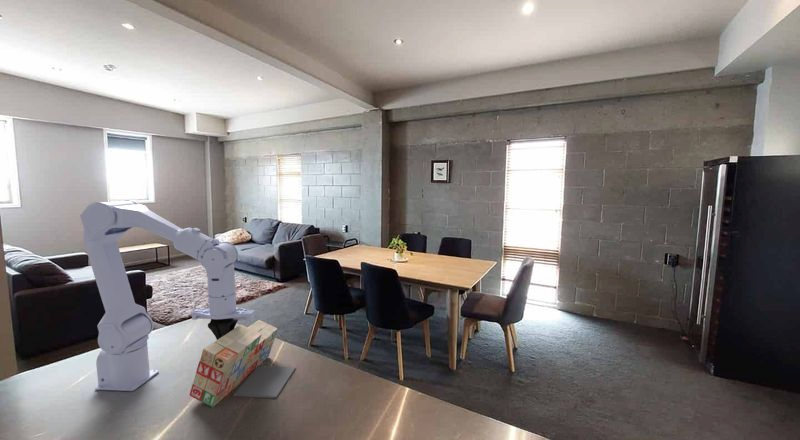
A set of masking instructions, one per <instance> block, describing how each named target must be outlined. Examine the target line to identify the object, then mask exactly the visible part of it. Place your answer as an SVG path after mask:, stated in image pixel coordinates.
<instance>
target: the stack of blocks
mask: <svg viewBox="0 0 800 440" xmlns="http://www.w3.org/2000/svg"><path fill="white" fill-rule="evenodd" d="M277 332H278V328H277V327H275V326H274V325H272V324H270V323H269V324H268V323H267V322H265V321H263V320H260V319H258V320H257V321H255V322H253V323H252V324H250V325H249V326H245V325H243V324H239V325H237V326H235V328H234V329H233V330H232V331H230V332H229V333H227V334H226V335H225V336H222V337H221V338H219V339H218V340H217V339H216V340H215V341H213V342H211V343H210V344H208V345H206V346H205V347H204V348H203V349H202V351H201V355H200V356H201V357H200V359H199V362H198V364H197V368H196V371H195V375H194V379H193V382H192V384H191V388H190V391H189V396H190V397H192V398H193V399H195V400H197V401H199V402H202V403H203V404H205V405H207V406H209V407H211V408H214V407H215V406H216V405H218V403H220V401H222V400H223V399H225V398H226V397H227V396H228V395H229V394H230V393H231V392H232V391H233V390H234V389H235V388H237V387H238V386H239V385H240V384H242V383H241V382H242V381H244V379H245V380H246V378H248V377H249V376H250V375H251V374H252V373H253V371H254V370H255V369H256V368H257V367H258V366H261V364H262V363H263V362H265V361H266V360H267V359H268V358H269V357H270V353H271V351H272V348H273V345H274V341H275V338H276V335H277Z"/></svg>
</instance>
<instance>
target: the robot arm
mask: <svg viewBox="0 0 800 440" xmlns="http://www.w3.org/2000/svg"><path fill="white" fill-rule="evenodd" d="M80 219H81V223H82V227H83V229H84V230H83V236H82V238H83V243H84V246H85V250H86V253H87V256H88V260H89V263H90V267H91V269H92V272H93V276H94V278H95V282H96V286H97V288H98V292H99V296H100V298H101V299H100V300H101V302H102V304H103V308H104V311H105V312H104V314H103V316H102V318H101V319H100V321H99V322H98V324H97V325H96V326H97V330H98V336H97V343H98V346H99V348H100V349H101V351H100V352H99V354H98V355H97V358H96V372H97V374H96V375H97V384H98V385H96V386H95V387H94V390H96V391H97V390H99V391H118V392H119V391H120V392H121V391H124V392H126V391H127V392H133V391H135V390H137V389H138V388H139V387H140V386H142V385H144V383H146V382H148V381H149V380H150V379H151V378H153V377H154V376H156V375H157V374H158V373H159V372H160V371H159V369H150V360H149V347H148V340H149V335H150V334H151V333H152V331H153V329H154V325H155V324H154V321H153V319H152V317H151V316H150V315H149V314H148V313H147V310H146V307H144V306H142V305H140V304H138V303H136V302H135V298H134V295H133V291H132V289H131V285H130V282H129V278H128V275H127V271H126V268H125V264H124V262H123V259H122V254H121V251H120V248H119V245H118V242H119V240H120V239H121V238H122V237H123V235H124V234H125V233H127V232H128V231H129V230H131V229H133V228H141V229H143V230H146V231H148V232H149V233H153V234H155V235H157V236H159V237H161V238H163V239H164V238H165V239H167V240H169V241H170V242H172V243H173V247H174V249H175V250H177V251H179V252H181V253H184V254H185V255H188V256H189V257H192V258H193V259H195V260H197V261H199V262H200V264H201V266H202V267H203V268H204V269H205V271H206V278H207V292H208V294H207V295H208V297H207V298H208V308H196V309H194V310H193V311H191V320H193V321H194V320H195V321H196V320H198V319H201V320H202V319H203V320H204V319H205V320H206V319H207V320H210V322H209V323H207V328H208V329H209V330H210V331H211V332H212V334H213V335H214V337H215V339H216V340H218V339H219V338H221V337H222V336H225V335H226V334H227V333H229V332H230V331H232V330H233V329H234V328H236V327H237V326H236V325H237V323H238V321H239V320H240V321H242V320H243V321H246V322H251V321H253V320H254V319H255V318H256V317H255V316H256V315H255V309H254V310H251V309H245V308H241V307H237V297H236V296H237V295H236V279H235V278H236V277H235V274H236V273H235V262H236V261H237V260H238V256H239V251H238V249H237V248H236V246H235V245H234V244H232V243H231V242H230V241H221V242H220V240H219V239H218V238H216V237H214V238H212V237H210V236H208V235H207V234H204V233H202V232H201V229H200V228H198V227H193V228H192V227H187V228H186V227H185V228H182V227H179V226H178V225H176V224H174V223H172V222H171V221H169V220H168V219H165V218H163V217H162V216H160V215H158V214H157V213H155V212H154V211H152V210H150V209H149V208H148V207H147V205H144V204H140V203H139V202H137V201H136V200H133V199H126V200H121V201H106V202H105V201H104V202H103V201H95V202H92V203H90V204H89V205H87V206H86V208H85V209H84V210H83V211H82V212H81V214H80Z"/></svg>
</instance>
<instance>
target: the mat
mask: <svg viewBox="0 0 800 440" xmlns="http://www.w3.org/2000/svg"><path fill="white" fill-rule="evenodd" d="M296 368H297V367H296V366H281V365H279V366H278V365H259V366H258V367H257V368H255V369H254V370H253V371H252V372H251V373H250V374H249V375H248V376H247V377H246V378H247V379H245V381H244V382H243V383H241V385H240V387H239V388H237V390H235V392H234V393H233V397H240V398H262V399H264V398H265V399H277V398H278V396H279V395H280V393H281V392H282V390H283V389H284V387H285V386H286V384H287V382H288V381H289V379H290V378H291V376H292V375H293V373H294V371H295V370H296Z"/></svg>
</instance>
